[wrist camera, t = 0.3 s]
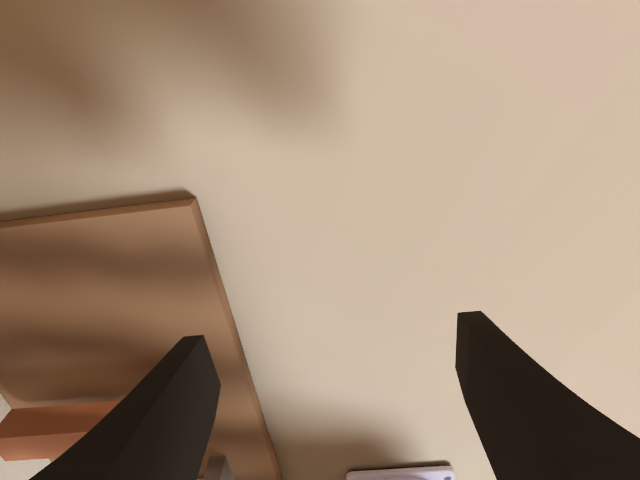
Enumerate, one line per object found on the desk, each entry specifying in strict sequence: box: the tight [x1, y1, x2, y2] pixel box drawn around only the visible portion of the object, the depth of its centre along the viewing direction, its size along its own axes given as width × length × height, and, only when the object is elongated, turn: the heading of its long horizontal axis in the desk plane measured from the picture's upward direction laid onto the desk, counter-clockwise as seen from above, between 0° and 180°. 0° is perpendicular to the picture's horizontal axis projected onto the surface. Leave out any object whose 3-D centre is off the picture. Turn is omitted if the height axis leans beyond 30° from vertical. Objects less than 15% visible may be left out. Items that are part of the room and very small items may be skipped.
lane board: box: [0, 198, 283, 480], centre depth 27 cm, size 32×16×4 cm, turn 8°
